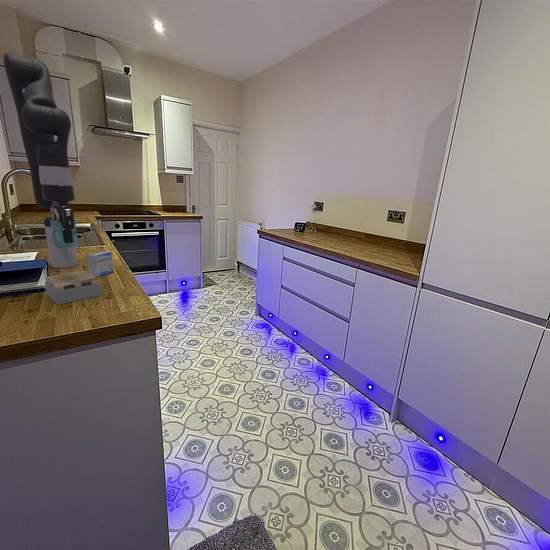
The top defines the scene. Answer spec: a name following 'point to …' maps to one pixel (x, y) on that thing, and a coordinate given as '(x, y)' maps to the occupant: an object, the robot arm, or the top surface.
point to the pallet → (71, 279)
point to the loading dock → (73, 292)
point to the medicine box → (100, 263)
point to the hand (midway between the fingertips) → (66, 241)
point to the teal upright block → (59, 235)
